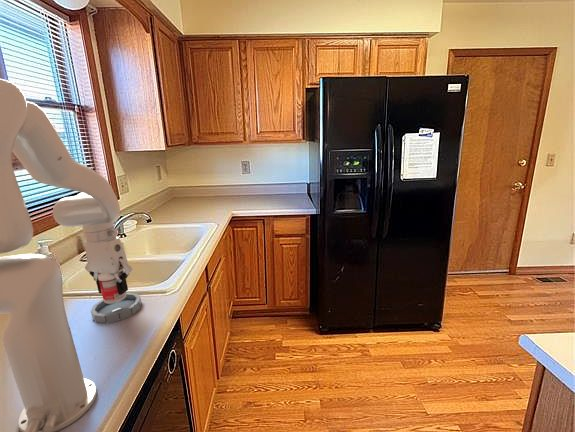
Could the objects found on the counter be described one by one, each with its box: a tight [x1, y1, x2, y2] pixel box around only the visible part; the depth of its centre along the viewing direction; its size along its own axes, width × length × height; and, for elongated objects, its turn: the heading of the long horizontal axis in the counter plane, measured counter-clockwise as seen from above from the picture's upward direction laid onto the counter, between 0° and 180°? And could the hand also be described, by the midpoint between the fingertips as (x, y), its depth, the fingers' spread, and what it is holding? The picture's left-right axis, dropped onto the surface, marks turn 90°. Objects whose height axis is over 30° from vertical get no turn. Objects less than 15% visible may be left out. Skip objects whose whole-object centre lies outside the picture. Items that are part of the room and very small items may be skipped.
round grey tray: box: [90, 292, 142, 324], centre depth 97 cm, size 13×13×2 cm
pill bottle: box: [98, 269, 127, 304], centre depth 95 cm, size 6×6×11 cm
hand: (113, 291), depth 96 cm, fingers closed on pill bottle, 6 cm apart
